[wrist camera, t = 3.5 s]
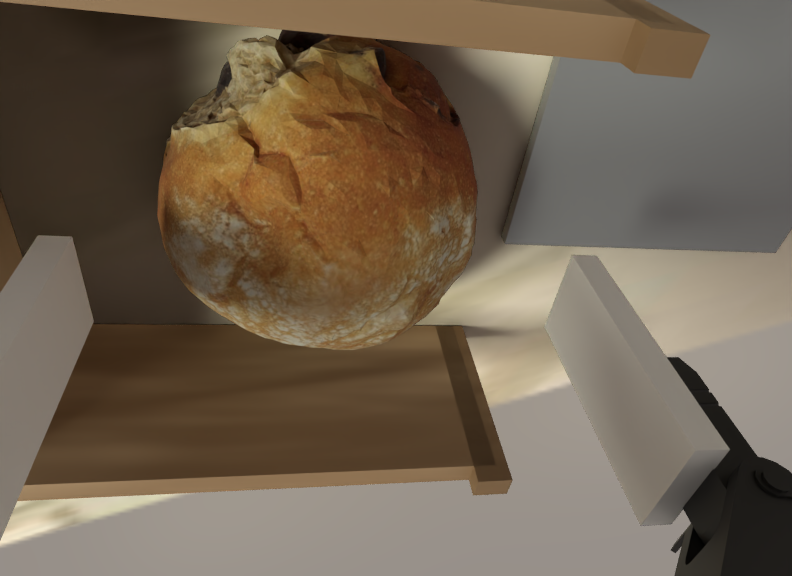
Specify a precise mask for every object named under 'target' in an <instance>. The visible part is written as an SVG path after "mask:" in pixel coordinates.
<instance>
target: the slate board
mask: <svg viewBox="0 0 792 576" xmlns="http://www.w3.org/2000/svg"><path fill="white" fill-rule="evenodd" d="M645 1H647V2H649V3H651V4H653V5H655V6H657V7H659V8H660V9H662V10H664V11H666V12H668V13H670V14H672V15H674V16H676V17H678V18H680V19H682V20H683V21H685V22H687V23H689V24H691V25H693V26H695V27H697V28H699V29H701V30H703V31H704V32H706V33H708V34H710V38H709V40H708V42H707V44H706V47H705V49H704V51H703V53H702V56H701V58H700V60H699V62H698V65H697V67H696V69H695V71H694V74H693V76H692V78H691V79H688V78H678V77H667V76H657V75H646V74H636V73H633V72H632V71H631V70H629V69H628V68H627V67H625V66H624V65H623V64H621V63H617V62H607V61H597V60H587V59H576V58H566V57H556V56H554V57H553V60H552V64H551V67H550V71H549V74H548V78H547V81H546V84H545V88H544V91H543V95H542V98H541V102H540V105H539V108H538V112H537V115H536V119H535V122H534V126H533V129H532V133H531V136H530V139H529V143H528V146H527V150H526V153H525V157H524V160H523V163H522V167H521V170H520V174H519V177H518V181H517V184H516V188H515V191H514V194H513V198H512V201H511V205H510V208H509V212H508V215H507V218H506V222H505V225H504V229H503V232H502V236H501V237H502V239H503V241H504V243H505V244H520V245H551V246H581V247H612V248H642V249H673V250H703V251H734V252H764V253H776V252H777V250H778V249H779V247H780V245H781V244H782V242H783V241H784V239H785V238H786V236H787V235H788V233H789V232H790V230H791V229H792V0H645Z"/></svg>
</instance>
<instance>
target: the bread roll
mask: <svg viewBox="0 0 792 576" xmlns="http://www.w3.org/2000/svg"><path fill="white" fill-rule="evenodd" d="M227 59H228V62H227V63H226V64H225V65H224V67H223V69H222V71H221V75H220V79H219V82H218V85H217V88H215V89H214V90H212V91H211V92H210V93H209V94H208V95H206V96H203V97H200V98H198V99H197V100H196V101H195V102H194V103H193V104H192V105H191V107H190V108H189V109H188V111H186V112H183V114H182V116H181V117H180V119H179V120H178V121H177V123H175V124H173V125H172V128H171V137H169V138H168V139H167V145H166V149H165V153H164V157H163V168H162V171H161V175H160V180H159V190H158V212H157V216H158V221H159V225H160V230H161V235H162V240H163V245H164V249H165V251H166V253H167V256H168V258H169V260H170V263H171V265H172V267H173V268H174V270H175V272H176V273H177V275H178V277H179V278H180V279H181V281H182V282H183V283H184V285H185V286H186V287H187V289H188V290H189V291H190V292H191V293H193V294H194V295H195V296H196V297H197V298H199V299H200V300H201V301H202V302H203V303H204V304H206V305H207V306H208V307H209V308H211V309H212V310H214V311H215V312H217V313H219V314H220V315H222V316H223V317H225V318H227V319H228V320H230V321H232V322H233V323H235V324H237V325H238V326H240V327H242V328H244V329H246V330H248V331H250V332H252V333H255V334H257V335H259V336H262V337H264V338H268V339H273V340H276V341H278V342H281V343H284V344H290V345H298V346H306V347H310V348H328V349H333V350H356V349H361V348H366V347H371V346H374V345H380V344H383V343H386V342H389V341H391V340H393V339H395V338H396V337H398V336H400V335H401V334H403V333H404V332H406V331H407V330H408V329H410V328H411V327H412V326H413V325H414V324H416V323H417V322H418V321H420V320H421V319H423V318H424V317H426V316H427V315H428V314H429V313H430V312H431V311H432V310H433V309H434V308H435V307H436V306H437V305H438V304H439V302H440V299H441V297H442V296H443V295H444V294H445V293H446V291H447V290H448V289H449V288H450V286H451V285H452V284H453V282H454V281H455V280H456V279H457V278H458V277H459V276H460V275H461V273H462V272H463V270H464V269H465V267H466V265H467V263H468V261H469V259H470V257H471V255H472V247H473V245H474V241H475V230H476V220H477V219H476V216H475V214H476V203H477V194H478V190H477V181H476V179H475V174H474V168H473V162H472V157H471V152H470V148H469V145H468V142H467V139H466V136H465V134H464V131H463V128H462V125H461V122H460V118H459V117H458V115H457V114H456V111H455V109H454V107H453V106H452V104H451V103H450V101H449V100H448V99H447V97H446V96H445V95H444V93H443V91H442V89H441V87H440V85H439V84H438V82H437V80H436V78H435V77H434V75H433V74H432V73H431V72H429V71H428V70H427V69H426V68H425V67H424V66H423V65H422V64H421V63H420V62H418V61H415V60H413V59H412V58H410V57H409V56H407V55H405V54H404V53H402V52H400V51H398V50H395V49H393V48H391V47H388V46H385V45H383V44H381V43H379V42H377V41H376V40H374V39H373V38H363V37H353V36H343V35H333V34H323V33H313V32H302V31H292V30H282V32H281V34H280V36H279V39H278V40H277V39H276V38H273V37H270V36H268V35H266V36H264V37H262V38H261V39H259V40H258V39H256V38H248V39H245V40H241V41H237V43H236V45H235V47H233V48H231V49H230V50H229V52H228V54H227ZM250 122H251V123H250ZM249 125H250V127H249Z"/></svg>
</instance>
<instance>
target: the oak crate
mask: <svg viewBox="0 0 792 576" xmlns="http://www.w3.org/2000/svg"><path fill="white" fill-rule="evenodd" d="M0 2H8V3H18V4H29V5H39V6H49V7H59V8H69V9H79V10H89V11H100V12H110V13H120V14H130V15H140V16H150V17H160V18H171V19H181V20H191V21H201V22H211V23H221V24H231V25H242V26H252V27H262V28H272V29H282V30H292V31H302V32H313V33H323V34H333V35H343V36H353V37H363V38H373V39H384V40H394V41H404V42H414V43H424V44H434V45H444V46H455V47H465V48H475V49H485V50H495V51H505V52H515V53H526V54H536V55H546V56H556V57H566V58H576V59H587V60H597V61H607V62H617V63H621V64H623V65H624V66H625V67H627V68H628V69H629V70H631V71H632V72H633V73H636V74H646V75H657V76H667V77H678V78H688V79H691V78H692V76H693V74H694V71H695V69H696V67H697V65H698V62H699V60H700V58H701V56H702V53H703V51H704V49H705V47H706V44H707V42H708V40H709V38H710V34H708V33H706V32H704V31H703V30H701V29H699V28H697V27H695V26H693V25H691V24H689V23H687V22H685V21H683V20H682V19H680V18H678V17H676V16H674V15H672V14H670V13H668V12H666V11H664V10H662V9H660V8H659V7H657V6H655V5H653V4H651V3H649V2H647V1H645V0H0ZM22 259H23V257H22V254H21V251H20V248H19V245H18V242H17V239H16V236H15V233H14V230H13V227H12V224H11V221H10V218H9V215H8V212H7V209H6V206H5V203H4V200H3V197H2V194H1V191H0V292H1V291H2V289H3V288H4V286H5V285H6V283H7V282H8V280H9V279H10V277H11V276H12V274H13V272H14V271H15V269H16V268H17V266H18V265H19V263H20V262H21V260H22ZM449 480H450V481H451V480H469V481H470V485H471V489H472V493H473V495H488V494H506V493H507V492H508V489H509V487H510V485H511V483H512V477H511V474H510V471H509V468H508V465H507V462H506V459H505V456H504V453H503V450H502V446H501V444H500V441H499V437H498V435H497V431H496V428H495V425H494V422H493V419H492V416H491V413H490V410H489V407H488V404H487V401H486V398H485V395H484V391H483V388H482V385H481V382H480V379H479V376H478V373H477V370H476V367H475V364H474V361H473V358H472V355H471V352H470V349H469V346H468V343H467V340H466V336H465V333H464V330H463V327H462V326H412V327H411V328H410V329H408V330H407V331H406V332H404V333H403V334H401V335H400V336H398V337H396V338H395V339H393V340H391V341H389V342H386V343H383V344H380V345H374V346H371V347H366V348H361V349H356V350H333V349H328V348H310V347H306V346H298V345H290V344H284V343H281V342H278V341H276V340H273V339H268V338H264V337H262V336H259V335H257V334H255V333H252V332H250V331H248V330H246V329H244V328H242V327H240V326H238V325H154V324H92V327H91V329H90V331H89V334H88V336H87V338H86V341H85V343H84V345H83V348H82V350H81V352H80V355H79V357H78V359H77V362H76V364H75V366H74V369H73V371H72V374H71V376H70V378H69V381H68V383H67V385H66V388H65V390H64V392H63V395H62V397H61V399H60V402H59V404H58V406H57V409H56V411H55V413H54V416H53V418H52V420H51V423H50V425H49V427H48V430H47V432H46V434H45V437H44V439H43V441H42V444H41V446H40V449H39V451H38V453H37V456H36V458H35V460H34V463H33V465H32V467H31V470H30V472H29V474H28V477H27V479H26V481H25V484H24V486H23V488H22V491H21V493H20V495H19V498H18V500H17V501H27V500H48V499H69V498H90V497H112V496H133V495H154V494H175V493H196V492H218V491H239V490H258V489H259V490H260V489H281V488H303V487H323V486H344V485H366V484H387V483H408V482H429V481H449Z"/></svg>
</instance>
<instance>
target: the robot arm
mask: <svg viewBox="0 0 792 576" xmlns="http://www.w3.org/2000/svg"><path fill="white" fill-rule="evenodd" d="M93 322H94V320H93V316H92V312H91V308H90V304H89V300H88V297H87V293H86V289H85V285H84V281H83V277H82V273H81V269H80V265H79V261H78V257H77V254H76V250H75V246H74V242H73V238H72V237H70V236H42V235H38V236H37V237H36V239H35V240H34V242H33V243H32V245H31V247H30V248H29V250H28V251H27V253H26V254H25V256H24V257H23V259H22V260H21V262H20V263H19V265H18V266H17V268H16V269H15V271H14V272H13V274H12V276H11V277H10V279H9V280H8V282H7V283H6V285H5V286H4V288H3V289H2V291H1V292H0V540H1V538H2V535H3V533H4V531H5V528H6V526H7V524H8V521H9V519H10V516H11V514H12V512H13V509H14V507H15V505H16V502H17V500H18V498H19V495H20V493H21V491H22V488H23V486H24V484H25V481H26V479H27V477H28V474H29V472H30V470H31V467H32V465H33V463H34V460H35V458H36V456H37V453H38V451H39V449H40V446H41V444H42V441H43V439H44V437H45V434H46V432H47V430H48V427H49V425H50V423H51V420H52V418H53V416H54V413H55V411H56V409H57V406H58V404H59V402H60V399H61V397H62V395H63V392H64V390H65V388H66V385H67V383H68V381H69V378H70V376H71V374H72V371H73V369H74V366H75V364H76V362H77V359H78V357H79V355H80V352H81V350H82V348H83V345H84V343H85V341H86V338H87V336H88V334H89V331H90V329H91V327H92V324H93ZM545 329H546V331H547V333H548V335H549V337H550V339H551V341H552V344H553V346H554V348H555V350H556V352H557V354H558V356H559V358H560V360H561V362H562V364H563V366H564V368H565V370H566V373H567V375H568V377H569V379H570V381H571V383H572V385H573V387H574V389H575V391H576V393H577V395H578V397H579V399H580V401H581V403H582V405H583V408H584V410H585V412H586V414H587V416H588V418H589V420H590V422H591V424H592V426H593V428H594V430H595V433H596V435H597V437H598V439H599V440H600V443H601V445H602V447H603V449H604V451H605V453H606V455H607V457H608V459H609V461H610V464H611V466H612V468H613V470H614V472H615V474H616V476H617V478H618V480H619V482H620V484H621V486H622V488H623V490H624V493H625V495H626V497H627V499H628V501H629V503H630V505H631V507H632V509H633V511H634V513H635V515H636V517H637V519H638V521H639V524H640V526H649V525H666V524H667V525H668V524H672V523H673V521H674V520H675V519H676V518H677V517H678V515H679V514H680V513H681V511H682V510H683V509H684V511H685V512H686V515H687V516H688V518H689V520H690V522H691V524H690V526H689V527H688V528H687V529H686V530H685V532H684V533H683V534H682V535H681V536H680V538H679V539H678V540H677V541H676V543H675V544H674V546H673V547H672V549H671V551H673V552H675V553H676V552H677V551H678V550H679V548H680V547H681V546H682V548H681V552H680V556H679V559H678V564H677V568H676V572H675V576H792V473H791V472H790V471H789V470H787V469H786V468H784V467H782V466H781V465H779V464H778V463H776V462H773V461H771V460H768V459H765V458H760V457H758V456H757V455H756V454H755V453H754V451H753V450H752V448H751V447H750V445H749V444H748V443H747V441H746V440H745V439H744V437H743V436H742V434H741V433H740V432H739V430H738V429H737V428H736V426H735V425H734V423H733V422H732V421H731V419H730V418H729V416H728V415H727V414H726V413H725V411H724V410H723V408H722V407H721V406H719V405H718V401H717V400H716V398H715V397H714V396H713V394H712V393H709V389H708V387H707V386H706V385H705V384H704V382H703V380H702V379H701V378H700V376H699V375H698V374H697V372H696V371H694V370H693V369H692V368H691V367H689V366H688V365H687V364H686V363H684V362H683V361H682V360H681V359H680V358H679V357H666V356H665V354H664V353H663V351H662V350H661V348H660V347H659V346H658V344H657V343H656V341H655V340H654V338H653V337H652V335H651V334H650V332H649V331H648V329H647V328H646V327H645V325H644V324H643V322H642V321H641V319H640V318H639V316H638V315H637V313H636V312H635V311H634V309H633V308H632V306H631V305H630V303H629V302H628V300H627V299H626V297H625V296H624V295H623V293H622V292H621V290H620V289H619V287H618V286H617V284H616V283H615V281H614V280H613V279H612V277H611V276H610V274H609V273H608V271H607V270H606V268H605V267H604V265H603V264H602V263H601V261H600V260H599V258H598V257H597V256H590V255H572V256H571V259H570V261H569V264H568V267H567V269H566V272H565V275H564V277H563V280H562V282H561V285H560V288H559V290H558V293H557V295H556V298H555V301H554V303H553V306H552V308H551V311H550V314H549V316H548V319H547V321H546V324H545Z"/></svg>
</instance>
